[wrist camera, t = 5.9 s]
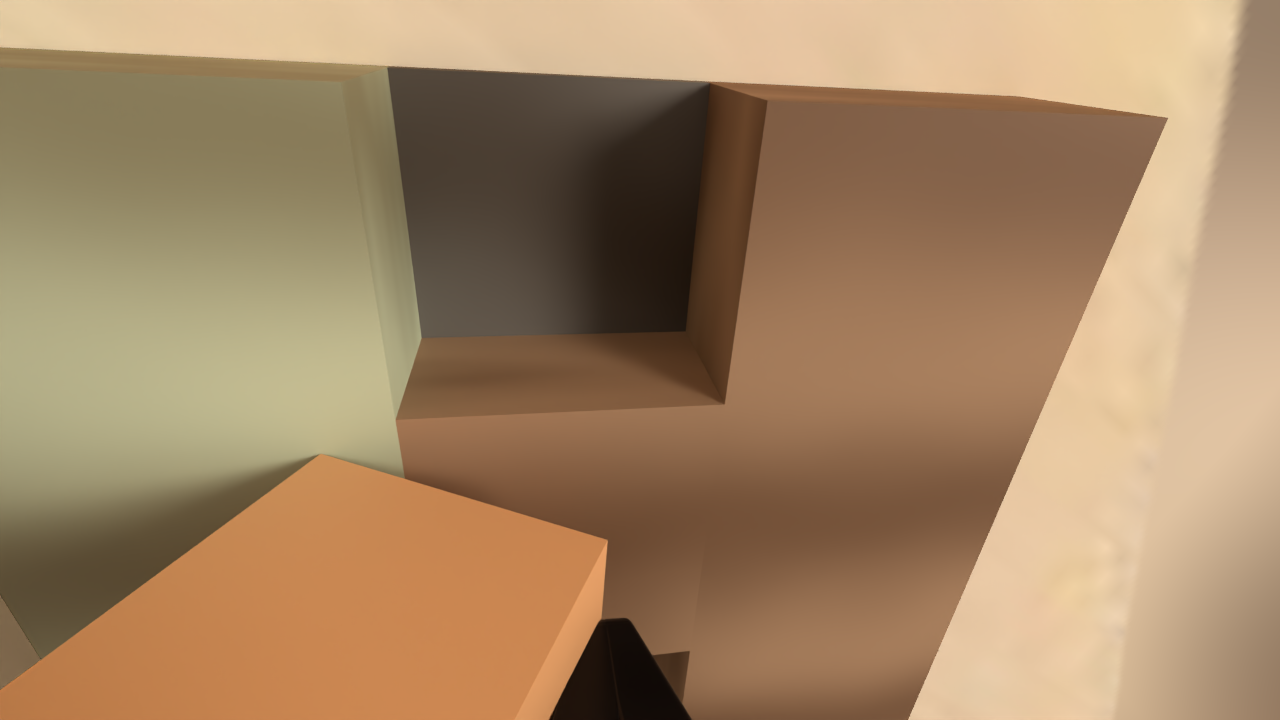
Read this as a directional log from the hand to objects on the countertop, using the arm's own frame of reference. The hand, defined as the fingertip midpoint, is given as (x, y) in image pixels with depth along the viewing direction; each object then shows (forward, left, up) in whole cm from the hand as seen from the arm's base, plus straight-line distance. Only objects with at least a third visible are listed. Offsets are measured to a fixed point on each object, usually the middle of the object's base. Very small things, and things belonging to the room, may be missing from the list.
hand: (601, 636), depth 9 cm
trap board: (0, 0, -5) cm, 5 cm away
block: (0, +2, -1) cm, 2 cm away
